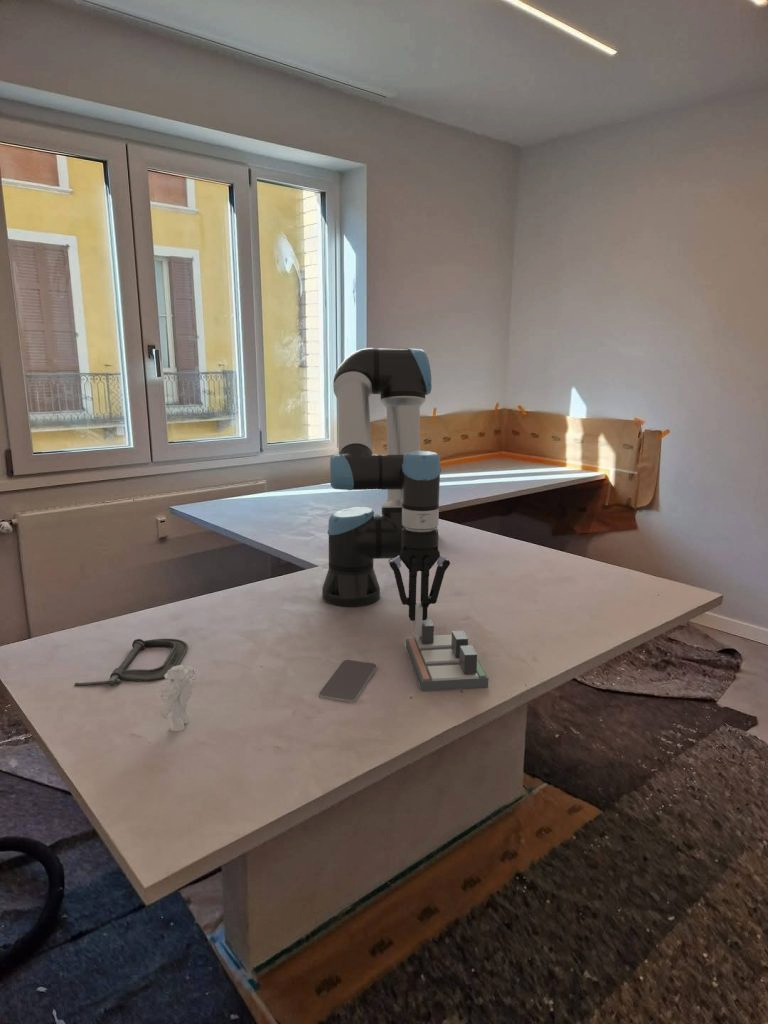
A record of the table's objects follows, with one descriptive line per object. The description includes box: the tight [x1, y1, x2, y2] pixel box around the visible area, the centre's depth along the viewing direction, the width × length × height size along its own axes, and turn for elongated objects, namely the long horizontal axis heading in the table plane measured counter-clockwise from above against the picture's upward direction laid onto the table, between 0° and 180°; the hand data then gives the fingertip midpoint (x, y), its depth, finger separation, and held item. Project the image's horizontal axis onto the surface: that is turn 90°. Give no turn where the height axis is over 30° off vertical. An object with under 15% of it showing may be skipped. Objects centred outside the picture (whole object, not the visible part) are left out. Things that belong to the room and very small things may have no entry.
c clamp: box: [74, 638, 189, 687], centre depth 134 cm, size 20×17×3 cm
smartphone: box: [318, 659, 378, 703], centre depth 128 cm, size 7×1×15 cm
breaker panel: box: [405, 634, 489, 692], centre depth 134 cm, size 13×19×2 cm
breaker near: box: [459, 644, 478, 674], centre depth 127 cm, size 2×4×4 cm, turn 7°
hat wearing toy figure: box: [158, 664, 197, 732], centre depth 111 cm, size 9×4×12 cm, turn 168°
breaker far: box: [420, 617, 435, 644], centre depth 140 cm, size 2×4×4 cm, turn 7°
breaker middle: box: [451, 630, 469, 658], centre depth 134 cm, size 2×4×4 cm, turn 7°
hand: (417, 633), depth 139 cm, fingers closed
